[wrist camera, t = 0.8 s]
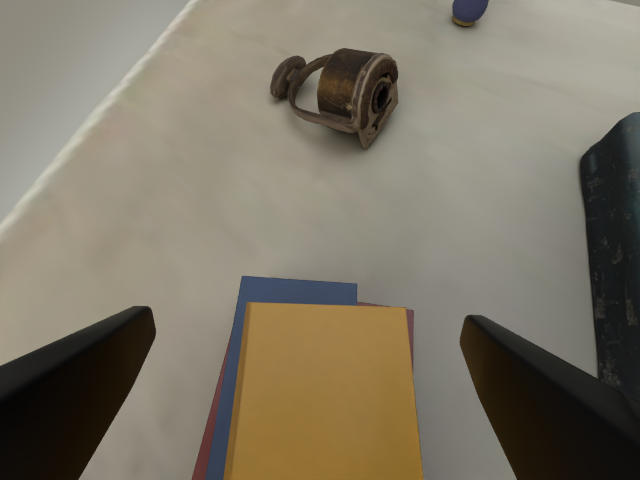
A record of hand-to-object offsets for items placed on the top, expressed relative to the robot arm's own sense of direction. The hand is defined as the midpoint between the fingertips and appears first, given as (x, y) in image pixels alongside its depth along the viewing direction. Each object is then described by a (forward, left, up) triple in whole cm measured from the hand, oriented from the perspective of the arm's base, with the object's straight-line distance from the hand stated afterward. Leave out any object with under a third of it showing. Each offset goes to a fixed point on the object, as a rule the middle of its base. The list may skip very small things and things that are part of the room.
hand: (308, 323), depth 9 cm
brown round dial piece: (+24, -2, -13) cm, 28 cm away
